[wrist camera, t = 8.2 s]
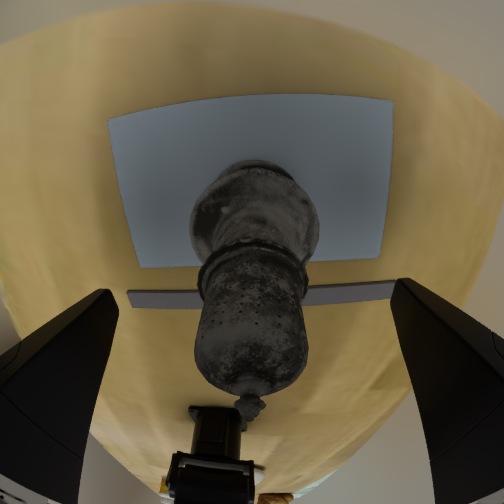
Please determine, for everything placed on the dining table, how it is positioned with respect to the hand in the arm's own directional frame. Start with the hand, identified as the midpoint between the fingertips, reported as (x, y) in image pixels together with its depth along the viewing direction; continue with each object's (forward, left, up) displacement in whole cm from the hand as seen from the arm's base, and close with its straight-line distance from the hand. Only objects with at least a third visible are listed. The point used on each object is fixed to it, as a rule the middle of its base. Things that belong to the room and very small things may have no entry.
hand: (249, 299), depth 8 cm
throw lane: (-1, 0, -9) cm, 9 cm away
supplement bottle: (-81, +30, -9) cm, 87 cm away
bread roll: (-104, -1, -9) cm, 104 cm away
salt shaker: (0, 0, -9) cm, 9 cm away
